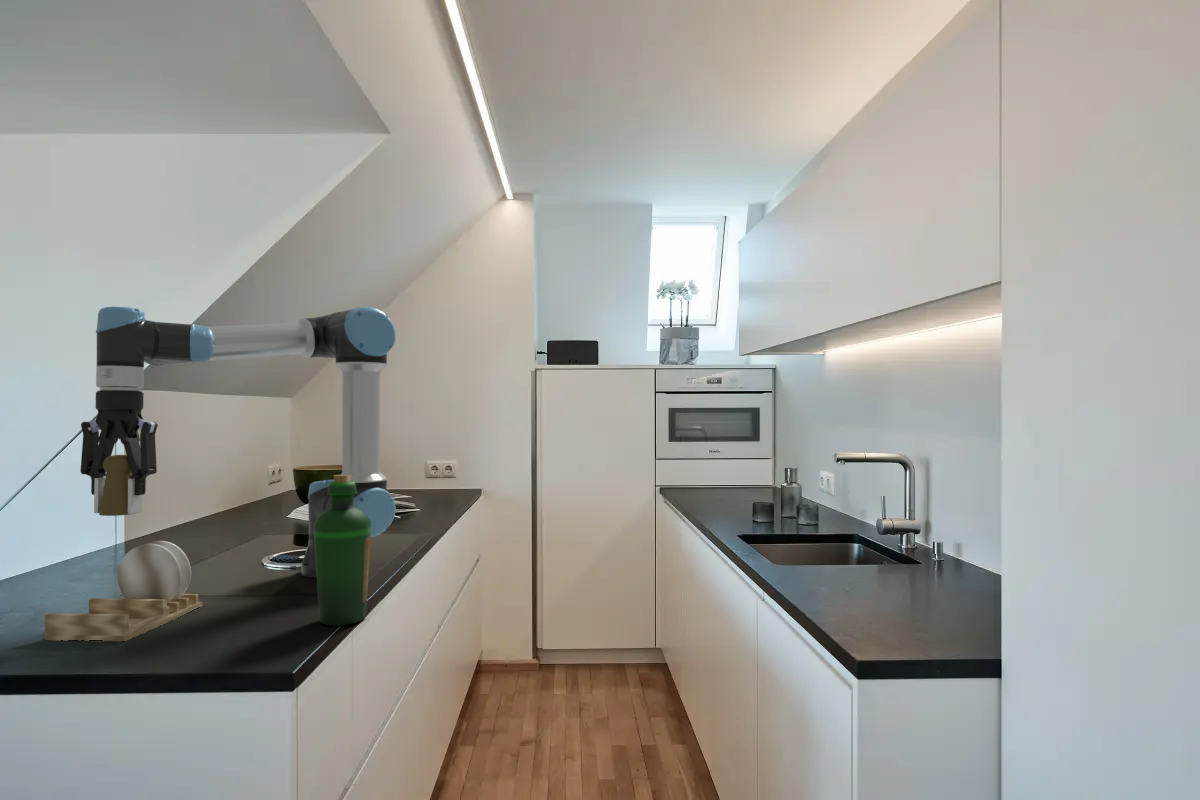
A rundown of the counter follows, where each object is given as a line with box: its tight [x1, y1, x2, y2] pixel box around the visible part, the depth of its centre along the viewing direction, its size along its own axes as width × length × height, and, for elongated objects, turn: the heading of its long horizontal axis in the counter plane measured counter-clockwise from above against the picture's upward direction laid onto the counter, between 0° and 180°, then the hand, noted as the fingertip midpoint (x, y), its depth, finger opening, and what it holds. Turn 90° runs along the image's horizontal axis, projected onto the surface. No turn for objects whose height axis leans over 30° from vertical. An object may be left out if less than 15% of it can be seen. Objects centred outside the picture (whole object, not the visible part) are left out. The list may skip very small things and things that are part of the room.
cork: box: [98, 454, 136, 517], centre depth 135 cm, size 6×6×11 cm
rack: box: [44, 540, 204, 642], centre depth 138 cm, size 15×22×14 cm
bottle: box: [313, 474, 372, 627], centre depth 138 cm, size 11×11×28 cm
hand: (118, 512), depth 135 cm, fingers closed on cork, 6 cm apart
